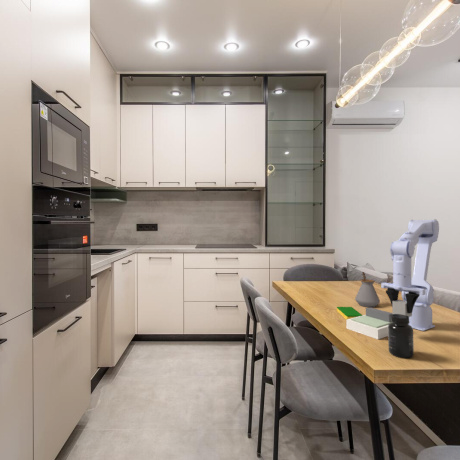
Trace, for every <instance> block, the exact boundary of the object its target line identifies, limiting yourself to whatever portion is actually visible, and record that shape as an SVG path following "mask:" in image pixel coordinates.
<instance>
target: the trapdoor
mask: <svg viewBox="0 0 460 460" xmlns="http://www.w3.org/2000/svg"><path fill="white" fill-rule="evenodd" d="M364 315H365V316H361V317H357V318H353V319H352V321H355V322H358V323H362V324H365V325H368V326H371V327H374V328H380V327H383V326H386V325H389V324H390V323H392V321H391V315H392V312H390V311H386V310H381V309H377V308H375V307H365V314H364Z"/></svg>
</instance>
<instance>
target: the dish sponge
mask: <svg viewBox="0 0 460 460" xmlns="http://www.w3.org/2000/svg"><path fill="white" fill-rule="evenodd" d="M336 312H338V314H339V315H341V316H342V317H343V318H344V319H345V321H346V320H347V319H351V318H355V317H359V316H362V315H363V314H362V313H360V312H359V311H358V310H357V309H355V308H354V307H352V306H336Z"/></svg>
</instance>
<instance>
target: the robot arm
mask: <svg viewBox="0 0 460 460" xmlns="http://www.w3.org/2000/svg"><path fill="white" fill-rule="evenodd" d="M407 225H408V226H407V230H406V231H405V232H404V233H402V235H401V236H400V237H399V238H398V240H394V241H392V242H391V244H390V247H389V253H390V255H391V256H390V257H391V261H392V282H384V281H383V282H381V284H380V285H381V286H380V288H381V289H386V290H385V294H386V295H387V298H388V299H389V301H390V305H392V301H395V300H399V296H400V295H399V294H400V292H401V298H402V299H401V300H404V301H407V313H412V316H410V317H409V325H410V326H411V327H412V328H413V330H414V329H415V330H418V331H422V332H423V331H427V330H430V329H432V328H435V327H436V325H435V324H433V309H432V307H431V306H432V305H433V303H434V300H435V298H434V295H435V294H434V288H433V286H432V284H431V283H429V282H428V281H427V280H428V279H427V278H428V272H429V271H428V270H429V265H430V258H431V257H430V256H431V250H432V248H433V247H432V246H433V244H434V243H436V242H437V241H438V238H439V233H440V232H439V231H440V224H439V221H438V220H437V219H436V218H434V219H410V220H409V222H408V224H407ZM416 245H417V247H416ZM415 249H416V252H415ZM414 253H416V254H415V257H414ZM412 257H414V258H415V259H414V267H413V272H412Z"/></svg>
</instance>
